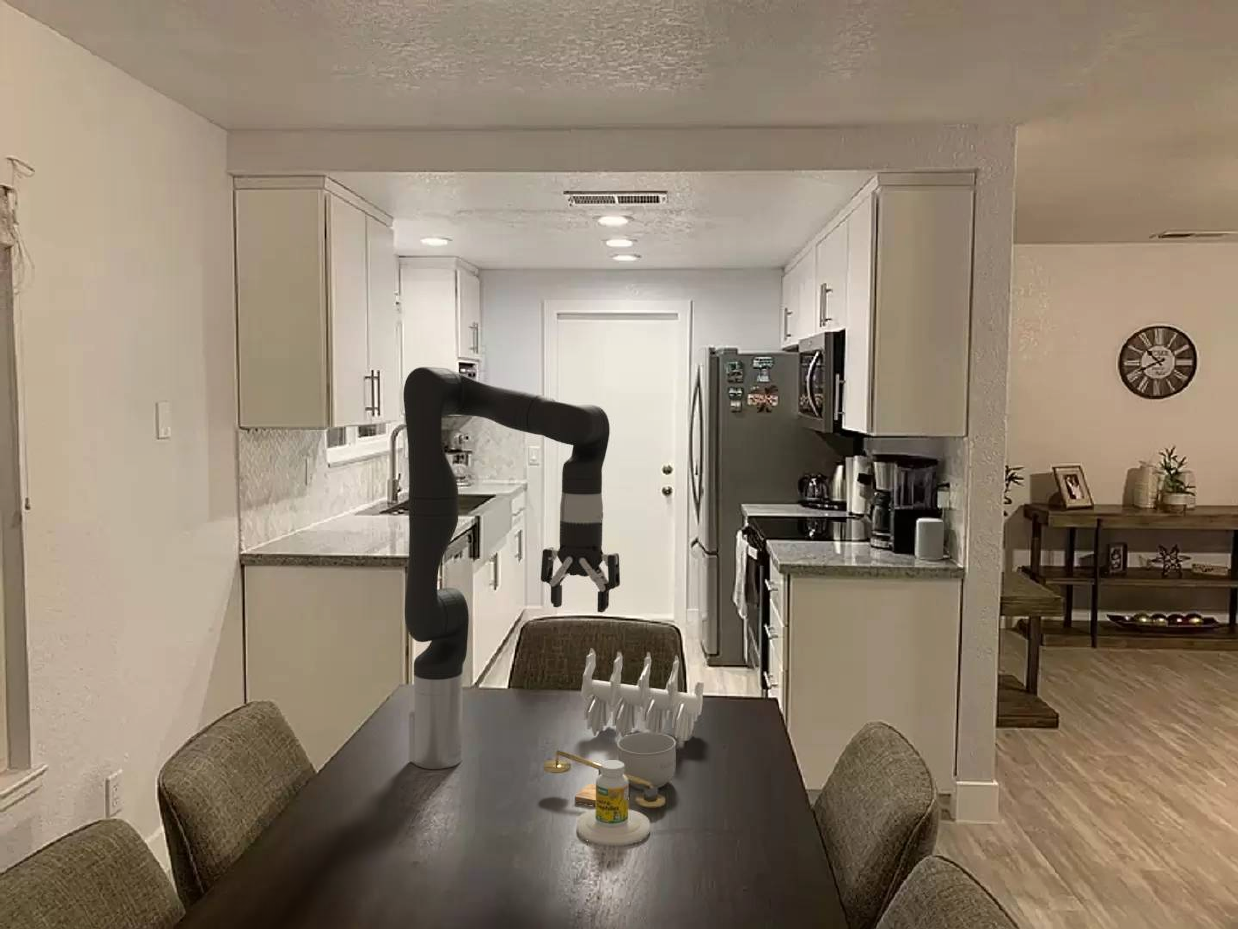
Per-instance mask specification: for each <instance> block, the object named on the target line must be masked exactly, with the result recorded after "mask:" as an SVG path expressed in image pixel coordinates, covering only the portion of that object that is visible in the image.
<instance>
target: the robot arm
mask: <svg viewBox="0 0 1238 929" xmlns="http://www.w3.org/2000/svg"><path fill="white" fill-rule="evenodd" d="M402 395H403V396H402V397H403V408H404V409H403V410H404V418H405V425H406V426H405V427H406V434H407V435H406V436H407V437H406V438H407V450H408V454H407V455H408V527H409V530H408V531H409V532H408V534H409V536H408V537H409V538H408V539H409V540H408V543H409V544H408V567H407V579H406V590H405V600H404V601H405V602H404V621H405V625H406V628H407V632H408V633H409V636H410V637H411V638H412V639H413V640H414V641H416V642H419V643H426V642H428V643H429V642H430V643H429V645H428V646H427V647H426V648H425V650H423V652H421V653H420V654H419V655H417V656H416V658H415V659H414V661H413V708H412V709H413V710H412V711H411V712H409V713H408V762H409V763H413V764H414V765H415V766H417V767H420V768H423V769H428V770H429V769H430V770H439V769H440V770H441V769H448V768H451V767H454V766H457V765H458V764H460V763H461V761H462V756H463V755H462V754H463V747H462V746H463V676H464V674H463V672H464V671H463V669H464V667H463V666H464V663H465V661H466V658H467V653H468V638H469V622H470V620H469V619H470V616H469V606H468V603H467V599H466V597H465V596H464V594H463V593H462V592H461V591H460V590H458V588H454V587H445V588H438V582H439V570H440V566H441V564H442V560H443V557H444V556H445V553H446V551H447V549H448V547H449V545H450V543H451V541H452V538H453V536H454V535H455V532H456V530H457V527H458V523H459V486H458V482H457V479H456V475H455V474H454V471H453V468H452V467H451V464H450V462H449V460H448V457H447V454H446V452H445V448H444V443H443V434H442V431H443V429H442V428H443V427H442V424H443V423H442V421H443V420H442V418H443V417H449V416H471V417H472V416H473V417H479V418H483V419H487V420H490V421H492V422H495V423H496V424H498V425H501V426H504V427H506V428H509V429H512V430H516V431H519V432H524V433H528V434H533V435H537V436H543V437H545V438H547V439H549V440H550V439H551V440H553V441H555V442H558V443H561V444H565V445H570V446H573V447H572V451H571V455H570V458H568V459H567V460H566V461H565V462H564V463H563V465H562V472H561V499H560V503H559V504H560V505H559V548H558V549H555V548H554V547H551V546H550V547H547V548H544V549H543V550H542V553H541V554H542V555H541V556H542V558H541V570H540V571H541V572H540V581H541V582H543V583H546V584H548V585H549V586H550V603H551V604H552V607H553V608H560V607H561V606H562V605H563V585H562V582H563V581H564V580H565V578H566V577H567V576H573V577H574V576H580V577H589V578H590V580H591V581H592V582H594V584H595V585H596V587H597V588H598V590H599V591H597V607H596V608H597V613H604V612H606V610H607V609H608V608H609V605H610V604H609V603H610V602H609V601H610V590H614V589H615V588H617V587H620V585H621V572H620V569H621V568H620V555H619V553H617V552H613V553H604V552H603V550H602V549H603V548H602V546H603V520H604V512H603V511H604V510H603V509H604V506H603V497H602V496H603V494H602V493H603V492H602V491H603V490H602V488H603V473H602V472H603V471H602V470H603V466H604V462H605V460H606V459H605V458H606V454H607V449H608V445H609V440H610V434H611V432H610V431H611V430H610V428H611V427H610V421H609V417H608V415H607V413H606V412H605V410H604V409H603V408H602V407H600V406H598V405H595V404H574V403H573V404H571V403H565V402H560V401H556V400H555V399H554V398H551V397H548V396H545V395H540V394H537V393H536V394H535V393H532V392H531V393H530V392H526V391H522V390H516V389H509V388H504V387H497V386H494V385H490V384H487V383H483V382H481V381H479V380H476V379H473V378H470V377H469V376H466V375H464V374H461V373H460V372H457V371H454V370H452V369H450V368H446V367H434V366H433V367H429V366H421V367H417V368H415V369H413V370H412V371H411V372H410V373H409V374H408V375H407V377H406V379H405V381H404V386H403V394H402ZM557 559H558V560H559V561H560V563H561V566H560V567H559V568H558V569H557V571H556V572H555V575H553V574H554V563H555V561H556V560H557ZM602 562H604V565H605V566H606V567H607V577H606V574H605V571H603V570H602V568H601V566H600V565H601V564H602ZM607 578H608V579H607Z"/></svg>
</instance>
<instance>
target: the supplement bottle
mask: <svg viewBox="0 0 1238 929" xmlns="http://www.w3.org/2000/svg"><path fill="white" fill-rule="evenodd" d="M599 764H600V772H601V774H600V775H599V774H598V776H597V777H596V779H595V785H596V807H595V809H596V821H597V823H598V824H600V825H602V826H605V827H619V826H622V825H624V824H626V823H627V821H628V809H629V799H628V791H629V786H630V784H629V783H628V778H627V777H626V776H625V775H624V772H625V765H624V763H623V762H621V761H618V759H617V760H616V759H615V760H614V759H609V760H604V761H602V762H601V763H599Z"/></svg>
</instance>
